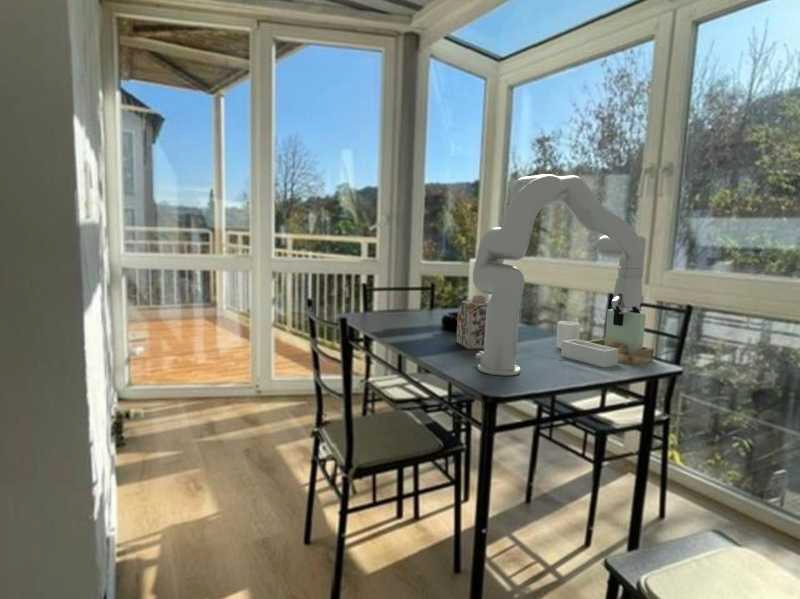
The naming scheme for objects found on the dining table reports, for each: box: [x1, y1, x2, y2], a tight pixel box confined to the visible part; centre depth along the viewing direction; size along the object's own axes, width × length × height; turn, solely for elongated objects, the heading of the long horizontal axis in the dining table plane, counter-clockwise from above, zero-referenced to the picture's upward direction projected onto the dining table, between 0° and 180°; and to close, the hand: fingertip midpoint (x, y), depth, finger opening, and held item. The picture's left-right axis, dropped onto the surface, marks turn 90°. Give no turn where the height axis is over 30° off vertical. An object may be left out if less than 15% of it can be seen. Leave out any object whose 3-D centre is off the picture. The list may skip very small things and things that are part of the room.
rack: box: [585, 337, 655, 366], centre depth 178 cm, size 18×12×5 cm, turn 36°
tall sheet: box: [604, 308, 647, 356], centre depth 179 cm, size 12×3×15 cm, turn 36°
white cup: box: [556, 320, 581, 350], centre depth 189 cm, size 8×8×10 cm
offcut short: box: [608, 342, 627, 352], centre depth 178 cm, size 5×3×2 cm, turn 36°
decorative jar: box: [456, 294, 489, 350], centre depth 191 cm, size 12×12×18 cm
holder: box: [560, 339, 619, 368], centre depth 172 cm, size 16×7×6 cm, turn 36°
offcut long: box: [618, 351, 628, 355], centre depth 179 cm, size 8×3×2 cm, turn 36°
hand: (626, 323), depth 179 cm, fingers open, 9 cm apart
